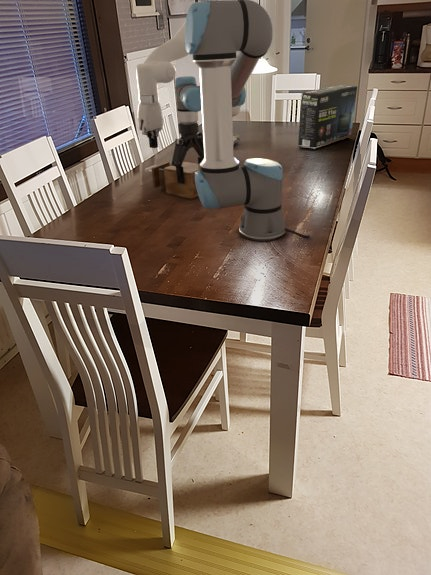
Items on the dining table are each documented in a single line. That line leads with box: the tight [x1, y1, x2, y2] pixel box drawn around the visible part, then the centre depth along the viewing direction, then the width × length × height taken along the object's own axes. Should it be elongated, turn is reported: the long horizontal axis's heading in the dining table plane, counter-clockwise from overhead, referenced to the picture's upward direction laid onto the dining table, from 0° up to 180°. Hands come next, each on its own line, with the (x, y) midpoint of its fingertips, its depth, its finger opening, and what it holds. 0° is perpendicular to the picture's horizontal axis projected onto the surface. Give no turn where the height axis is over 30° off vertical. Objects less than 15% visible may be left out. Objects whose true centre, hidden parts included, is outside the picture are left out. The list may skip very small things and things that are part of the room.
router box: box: [297, 84, 358, 151], centre depth 238 cm, size 36×11×27 cm, turn 134°
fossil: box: [233, 132, 241, 146], centre depth 248 cm, size 18×11×15 cm
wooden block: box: [164, 161, 200, 200], centre depth 183 cm, size 13×11×10 cm
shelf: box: [143, 161, 172, 189], centre depth 189 cm, size 18×10×8 cm, turn 55°
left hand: (153, 147), depth 186 cm, fingers closed
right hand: (191, 178), depth 181 cm, fingers open, 13 cm apart
